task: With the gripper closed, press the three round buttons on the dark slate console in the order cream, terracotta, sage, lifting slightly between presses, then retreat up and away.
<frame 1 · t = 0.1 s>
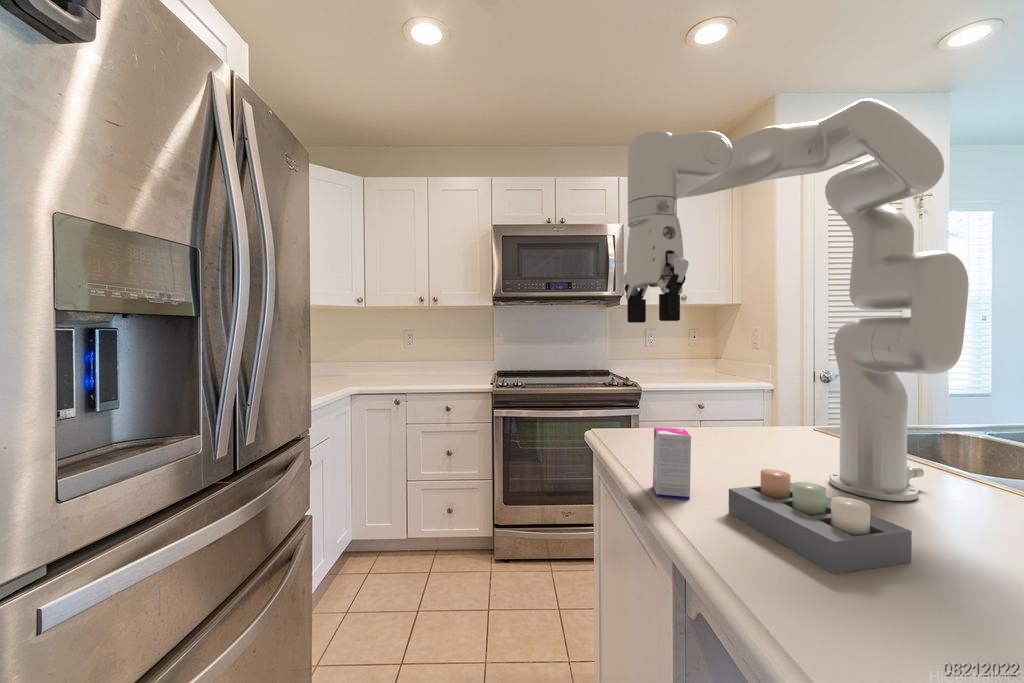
hand: (651, 321, 69), 31 cm above the counter, tool pointing down, fingers open, 9 cm apart
cream button: (850, 517, 56), point 5 cm above the counter, slide at 0.0 cm
supplement box: (670, 494, 78), on the counter
sage button: (809, 500, 62), point 5 cm above the counter, slide at 0.0 cm
terracotta button: (775, 485, 67), point 5 cm above the counter, slide at 0.0 cm
console: (808, 534, 62), on the counter
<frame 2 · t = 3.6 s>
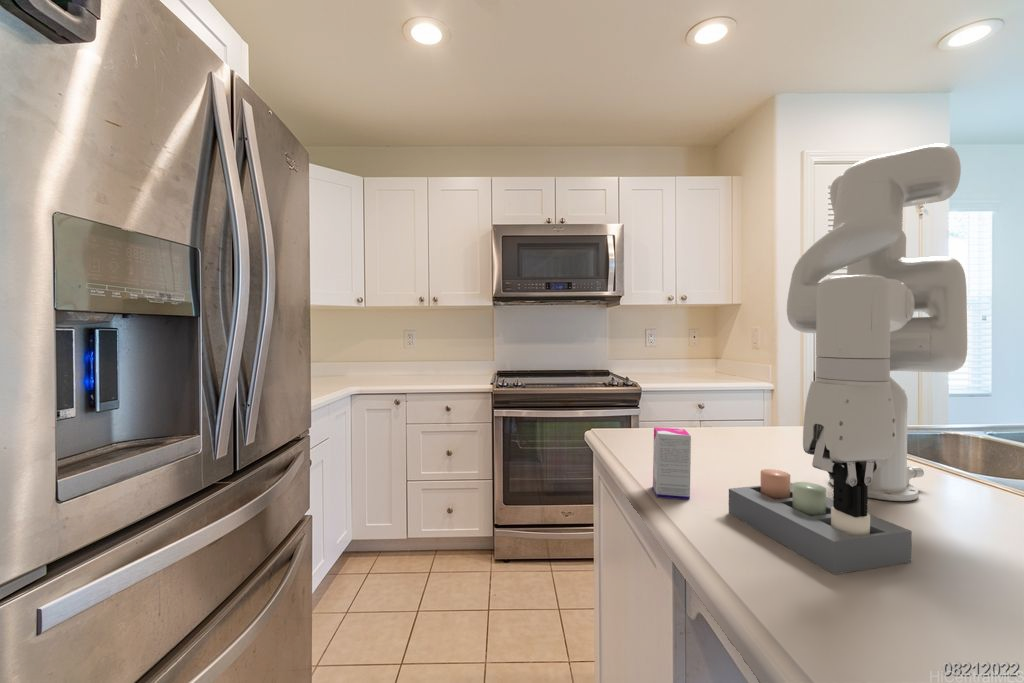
hand: (849, 512, 56), 6 cm above the counter, tool pointing down, fingers closed
cream button: (850, 527, 56), point 4 cm above the counter, slide at -1.2 cm, touching gripper
everything else where it was.
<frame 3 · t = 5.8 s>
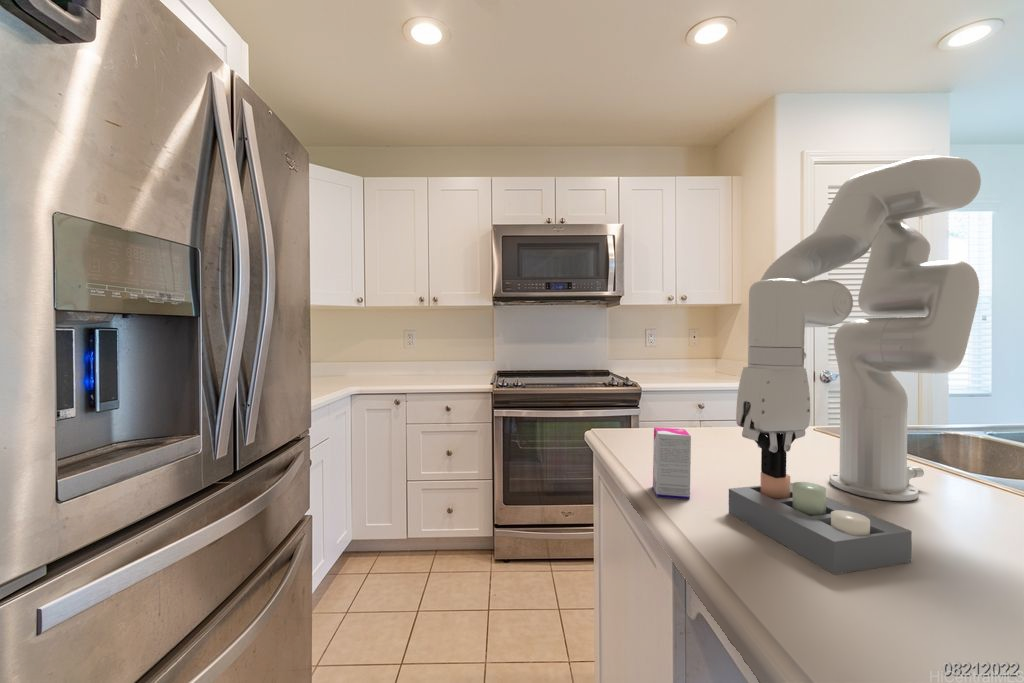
hand: (773, 474, 67), 7 cm above the counter, tool pointing down, fingers closed
cream button: (849, 531, 56), point 3 cm above the counter, slide at -1.8 cm
terracotta button: (775, 487, 67), point 5 cm above the counter, slide at -0.2 cm, touching gripper
everything else where it was.
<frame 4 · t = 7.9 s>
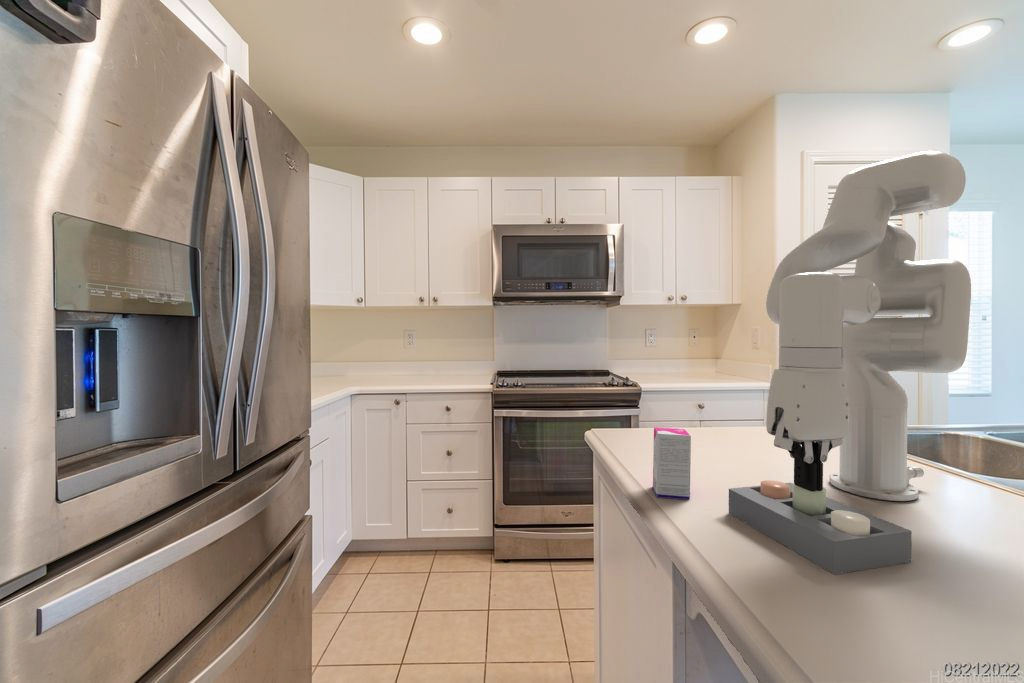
hand: (807, 487, 61), 7 cm above the counter, tool pointing down, fingers closed
sage button: (809, 501, 62), point 5 cm above the counter, slide at -0.1 cm, touching gripper
terracotta button: (775, 497, 68), point 3 cm above the counter, slide at -1.8 cm
everything else where it was.
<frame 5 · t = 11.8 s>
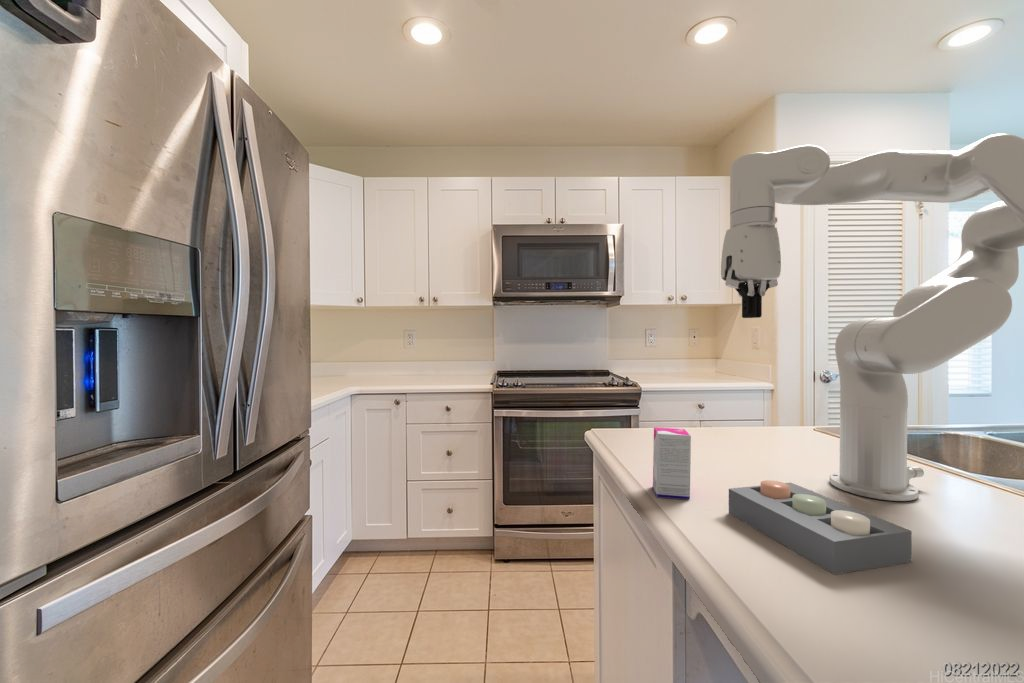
hand: (751, 317, 82), 32 cm above the counter, tool pointing down, fingers closed
sage button: (808, 512, 62), point 3 cm above the counter, slide at -1.8 cm
everything else where it was.
at the end: cream button slide at -1.8 cm; terracotta button slide at -1.8 cm; sage button slide at -1.8 cm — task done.
